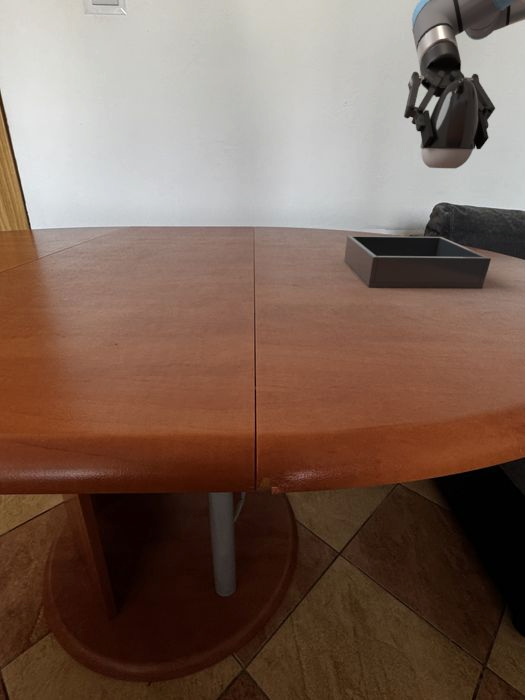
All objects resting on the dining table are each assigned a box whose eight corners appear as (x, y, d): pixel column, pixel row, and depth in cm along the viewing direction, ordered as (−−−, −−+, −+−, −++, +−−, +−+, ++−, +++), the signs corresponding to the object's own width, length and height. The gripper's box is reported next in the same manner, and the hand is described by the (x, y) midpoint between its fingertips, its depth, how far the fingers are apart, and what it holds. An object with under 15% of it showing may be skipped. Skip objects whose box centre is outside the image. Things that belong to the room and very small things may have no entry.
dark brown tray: (436, 261, 75) (441, 236, 73) (482, 288, 61) (491, 258, 58) (344, 260, 74) (347, 235, 72) (368, 287, 60) (373, 257, 57)
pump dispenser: (415, 167, 75) (432, 74, 68) (417, 166, 84) (433, 83, 77) (471, 169, 72) (496, 71, 65) (467, 168, 80) (489, 81, 73)
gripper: (480, 78, 84) (499, 159, 77) (379, 75, 83) (390, 156, 76) (502, 42, 76) (525, 127, 70) (392, 38, 75) (405, 124, 69)
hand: (455, 142), depth 73 cm, fingers closed on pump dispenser, 10 cm apart
